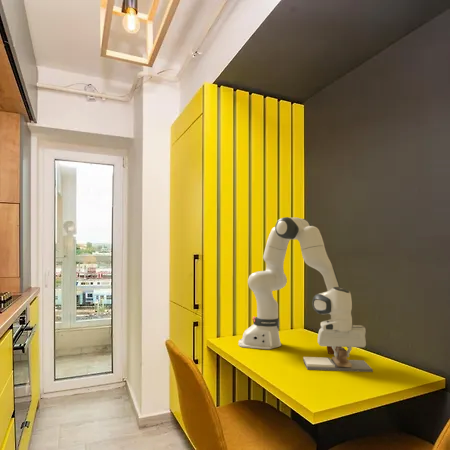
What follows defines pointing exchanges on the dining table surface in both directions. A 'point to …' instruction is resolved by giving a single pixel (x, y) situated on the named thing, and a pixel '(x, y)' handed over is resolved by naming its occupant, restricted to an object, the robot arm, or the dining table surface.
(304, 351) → the dining table surface
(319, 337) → the robot arm
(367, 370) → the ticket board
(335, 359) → the stub
